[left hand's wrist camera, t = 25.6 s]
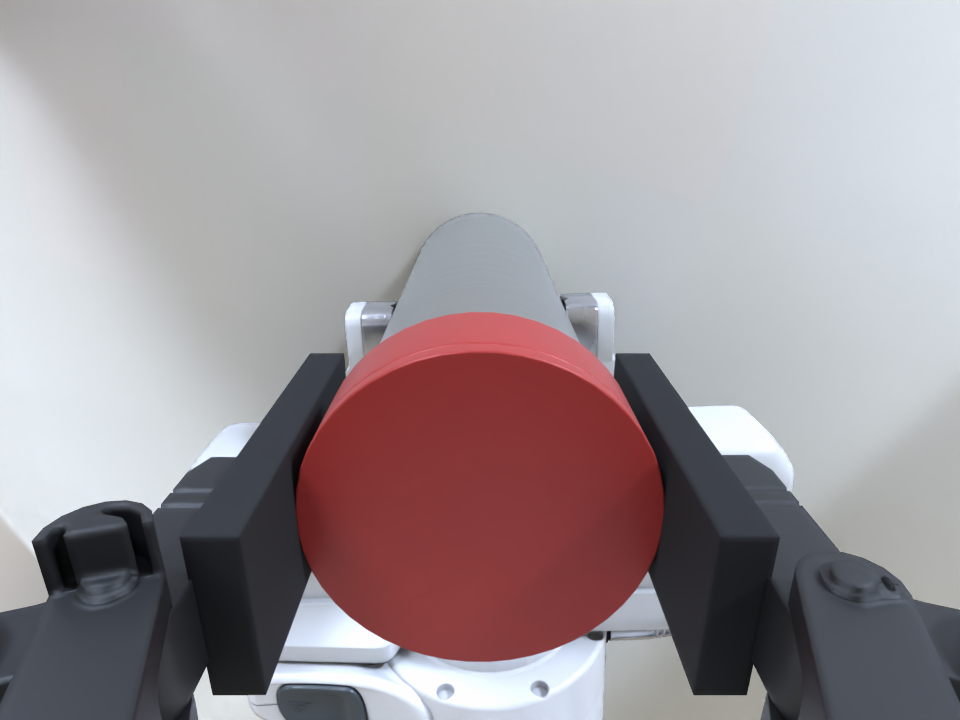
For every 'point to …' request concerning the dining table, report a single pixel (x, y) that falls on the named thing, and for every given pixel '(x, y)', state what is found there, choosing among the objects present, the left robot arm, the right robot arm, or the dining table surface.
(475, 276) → the grey cylinder
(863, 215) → the dining table surface
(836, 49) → the dining table surface
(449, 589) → the lid
